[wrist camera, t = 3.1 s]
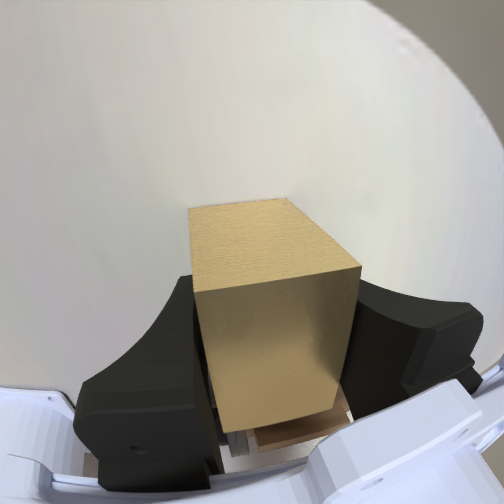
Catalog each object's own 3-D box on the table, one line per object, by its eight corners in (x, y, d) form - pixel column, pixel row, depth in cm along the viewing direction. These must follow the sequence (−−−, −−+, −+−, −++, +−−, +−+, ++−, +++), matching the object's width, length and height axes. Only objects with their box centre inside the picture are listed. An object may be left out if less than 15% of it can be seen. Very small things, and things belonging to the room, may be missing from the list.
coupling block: (285, 315, 15) (332, 408, 10) (206, 328, 14) (223, 433, 9) (286, 198, 12) (361, 266, 7) (188, 208, 12) (193, 292, 6)
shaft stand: (158, 436, 18) (160, 483, 14) (122, 369, 14) (115, 429, 11) (405, 378, 21) (429, 411, 18) (433, 306, 18) (469, 340, 14)
